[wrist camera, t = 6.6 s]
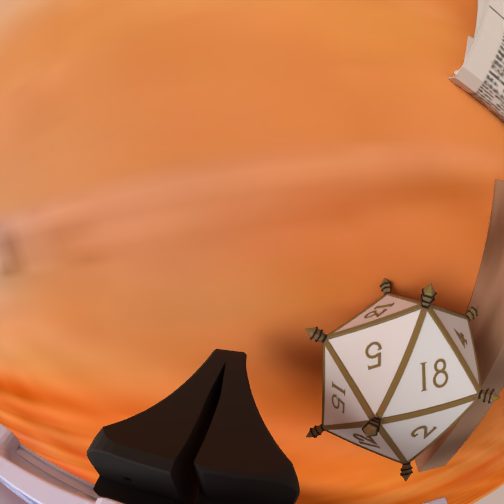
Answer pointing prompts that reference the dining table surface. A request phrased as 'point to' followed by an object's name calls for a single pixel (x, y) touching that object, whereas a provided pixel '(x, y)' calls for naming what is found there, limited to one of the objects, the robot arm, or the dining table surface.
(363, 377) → the game die
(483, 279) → the batten
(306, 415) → the dining table surface
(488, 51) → the newspaper
